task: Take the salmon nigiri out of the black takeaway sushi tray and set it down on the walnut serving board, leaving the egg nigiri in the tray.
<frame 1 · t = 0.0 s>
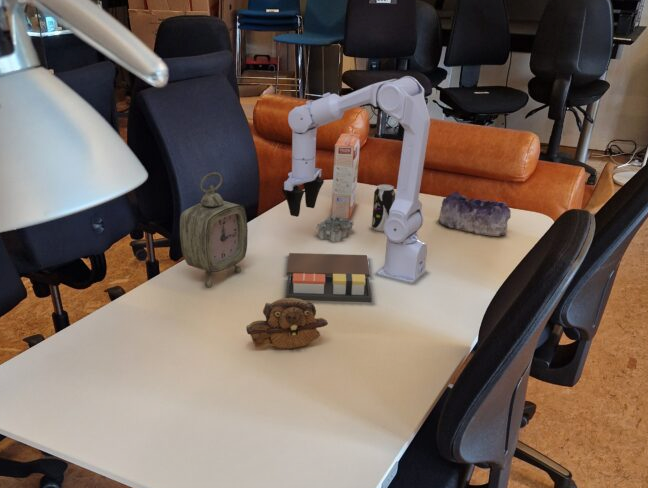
hand: (302, 211, 184), 10 cm above the table, tool pointing down, fingers open, 7 cm apart
tabletop clock: (214, 277, 174), on the table
beverage can: (381, 229, 203), on the table
tamago nigiri: (348, 291, 168), resting on sushi tray
wooden carving: (287, 347, 146), on the table
sushi tray: (328, 292, 168), on the table
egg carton: (334, 235, 199), on the table
geode: (472, 229, 204), on the table
salmon nigiri: (308, 289, 168), resting on sushi tray
serving board: (328, 267, 180), on the table
cracker box: (343, 212, 215), on the table
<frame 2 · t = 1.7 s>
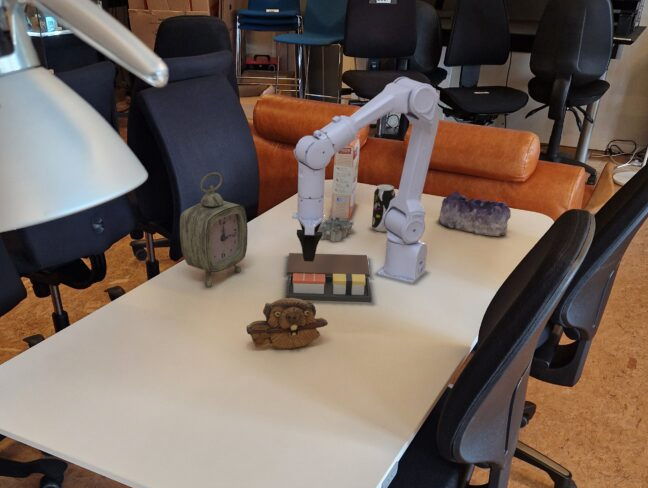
hand: (309, 254, 164), 9 cm above the table, tool pointing down, fingers open, 7 cm apart
nothing on the table moved.
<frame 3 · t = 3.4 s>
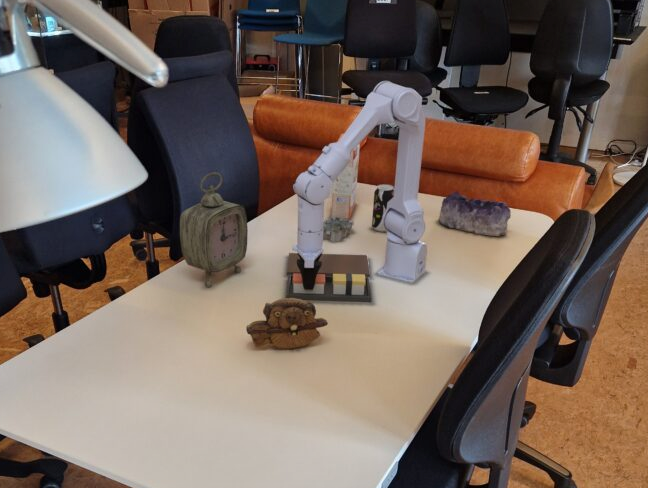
hand: (308, 284, 167), 2 cm above the table, tool pointing down, fingers closed on salmon nigiri, 4 cm apart
salmon nigiri: (308, 289, 168), resting on sushi tray, touching gripper
everything else where it was.
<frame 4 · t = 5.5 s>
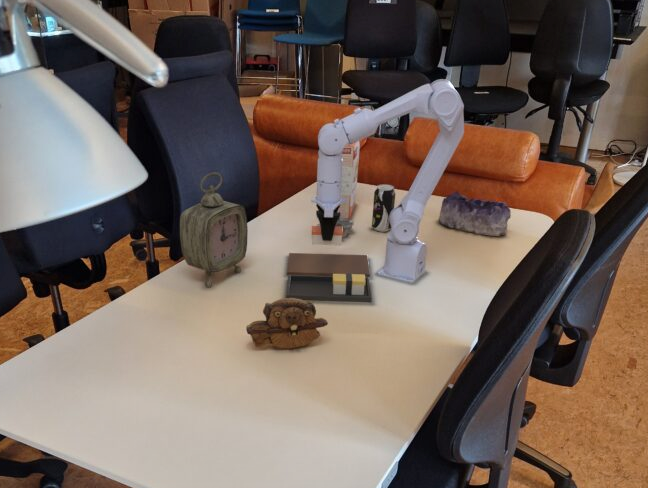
hand: (327, 236, 173), 9 cm above the table, tool pointing down, fingers closed on salmon nigiri, 4 cm apart
salmon nigiri: (326, 241, 174), point 8 cm above the table, touching gripper
everything else where it was.
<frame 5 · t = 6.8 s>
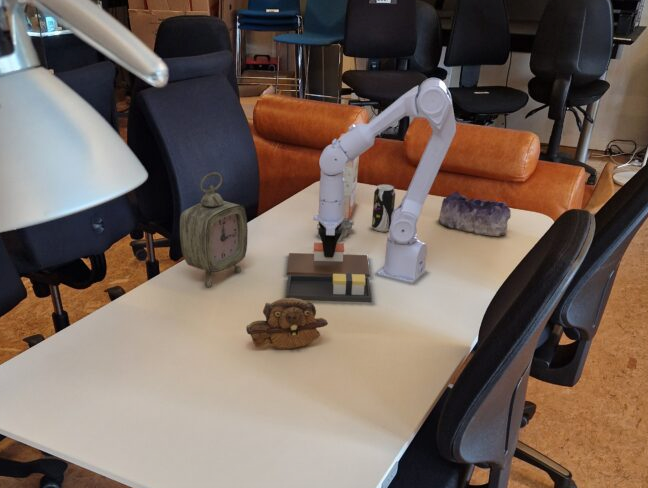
hand: (328, 253, 178), 4 cm above the table, tool pointing down, fingers closed on salmon nigiri, 4 cm apart
salmon nigiri: (328, 258, 178), point 3 cm above the table, touching gripper
everything else where it was.
when the fingers open (2 cm above the table, at t = 7.7 s): salmon nigiri stays where it is, resting on serving board.
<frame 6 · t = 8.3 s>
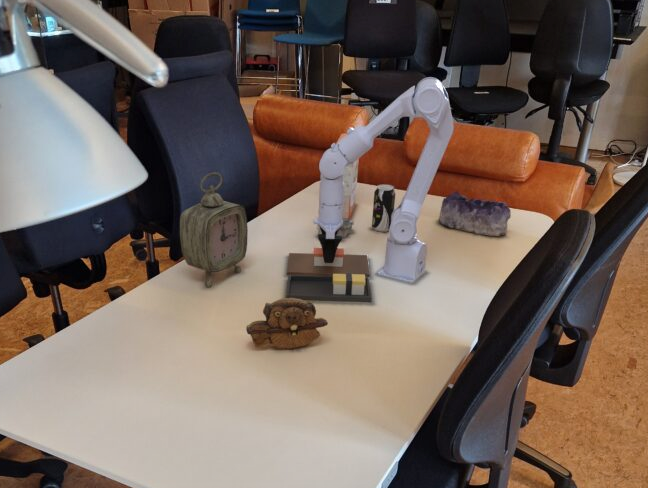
hand: (328, 256, 178), 3 cm above the table, tool pointing down, fingers open, 7 cm apart
salmon nigiri: (328, 263, 179), point 1 cm above the table, touching serving board
everything else where it was.
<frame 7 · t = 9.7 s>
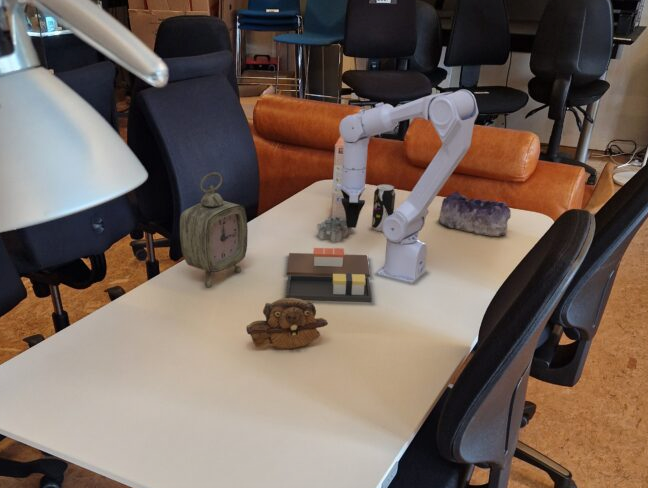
hand: (350, 221, 180), 9 cm above the table, tool pointing down, fingers open, 7 cm apart
nothing on the table moved.
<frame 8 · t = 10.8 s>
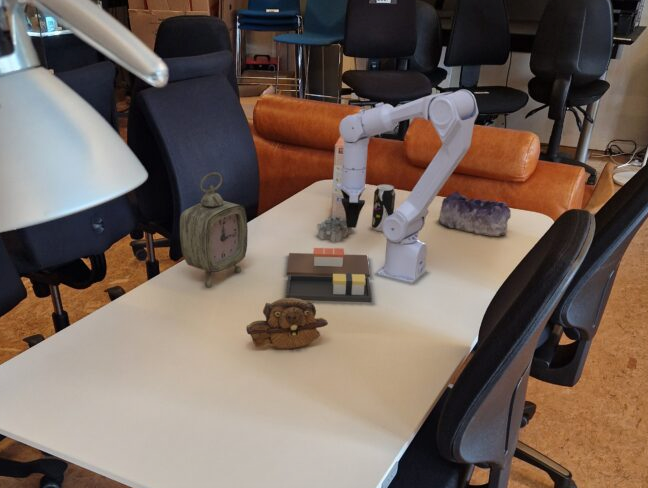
hand: (350, 221, 180), 9 cm above the table, tool pointing down, fingers open, 7 cm apart
nothing on the table moved.
at the end: salmon nigiri inside the target area on the serving board (0.0 cm from its centre), point 1.2 cm above the serving board's base; salmon nigiri tilted 0°; tamago nigiri moved 0.0 cm from its start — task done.
